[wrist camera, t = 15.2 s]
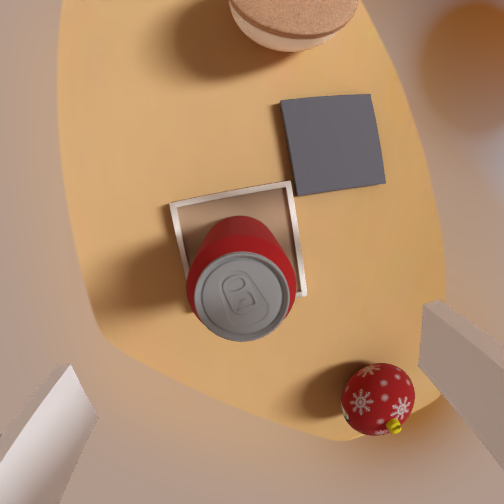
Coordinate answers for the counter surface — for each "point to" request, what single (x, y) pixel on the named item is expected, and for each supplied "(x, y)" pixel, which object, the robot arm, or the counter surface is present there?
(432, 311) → the robot arm
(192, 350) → the counter surface
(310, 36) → the lidded jar
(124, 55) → the counter surface
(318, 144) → the pad
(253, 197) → the board
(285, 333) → the counter surface
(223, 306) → the beverage can
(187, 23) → the counter surface
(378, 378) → the christmas ornament
